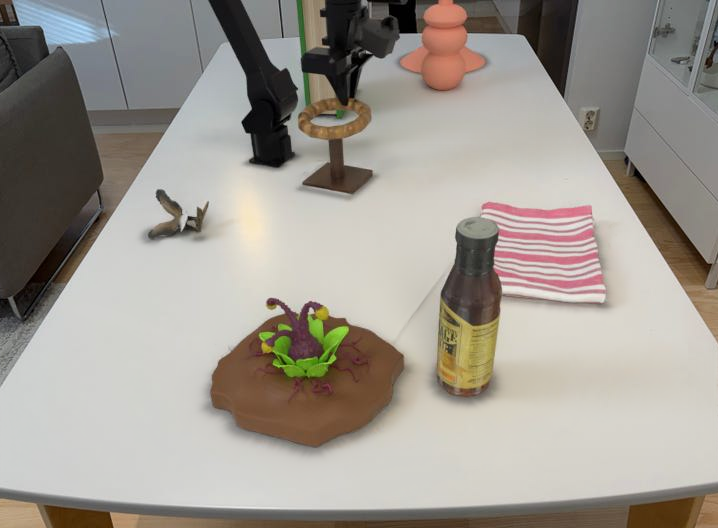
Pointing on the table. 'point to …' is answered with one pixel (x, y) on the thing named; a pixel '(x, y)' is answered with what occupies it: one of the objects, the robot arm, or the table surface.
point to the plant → (306, 376)
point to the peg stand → (338, 172)
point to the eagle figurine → (176, 217)
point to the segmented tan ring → (334, 131)
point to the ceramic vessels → (443, 48)
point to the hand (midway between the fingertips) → (348, 103)
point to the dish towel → (547, 253)
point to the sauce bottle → (470, 311)
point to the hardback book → (311, 37)
